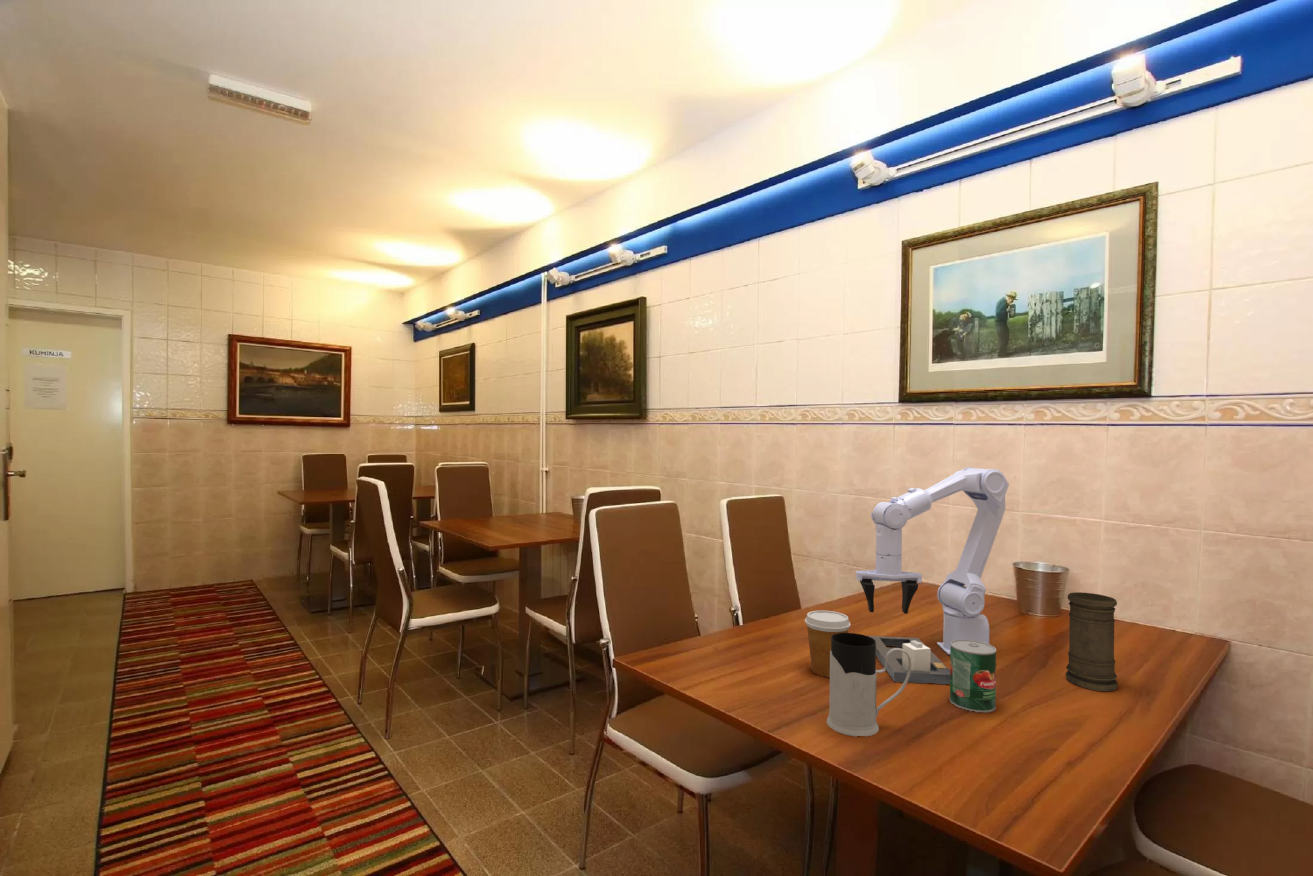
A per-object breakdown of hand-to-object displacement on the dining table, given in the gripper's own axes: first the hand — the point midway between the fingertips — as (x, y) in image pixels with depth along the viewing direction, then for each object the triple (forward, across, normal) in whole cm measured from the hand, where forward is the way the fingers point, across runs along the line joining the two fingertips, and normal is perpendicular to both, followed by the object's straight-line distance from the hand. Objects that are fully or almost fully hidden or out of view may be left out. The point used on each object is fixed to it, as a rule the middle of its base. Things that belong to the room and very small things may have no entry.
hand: (887, 612), depth 145 cm
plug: (+10, -3, +12) cm, 16 cm away
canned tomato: (+10, -9, +26) cm, 29 cm away
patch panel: (+10, -3, +5) cm, 11 cm away
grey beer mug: (+10, +13, +38) cm, 41 cm away
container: (+10, -38, +12) cm, 41 cm away
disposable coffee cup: (+10, +16, +13) cm, 23 cm away
